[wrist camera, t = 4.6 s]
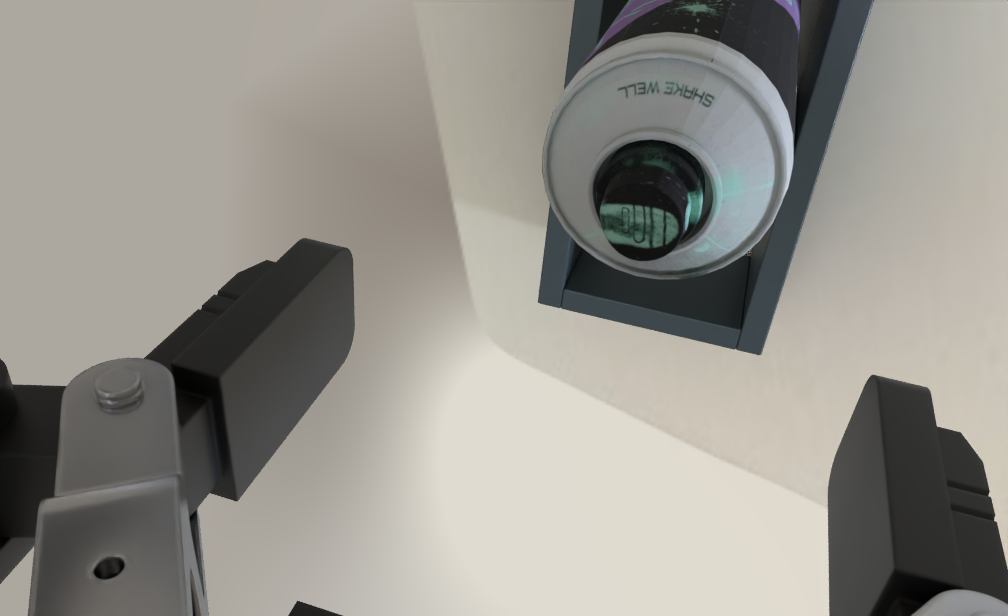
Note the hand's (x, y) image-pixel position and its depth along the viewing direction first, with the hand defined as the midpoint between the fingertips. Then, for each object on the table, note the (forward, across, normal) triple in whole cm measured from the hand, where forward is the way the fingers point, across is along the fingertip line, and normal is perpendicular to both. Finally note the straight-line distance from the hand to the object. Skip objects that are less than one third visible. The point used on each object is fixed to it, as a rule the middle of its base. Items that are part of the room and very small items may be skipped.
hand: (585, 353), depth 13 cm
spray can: (+24, 0, 0) cm, 25 cm away
